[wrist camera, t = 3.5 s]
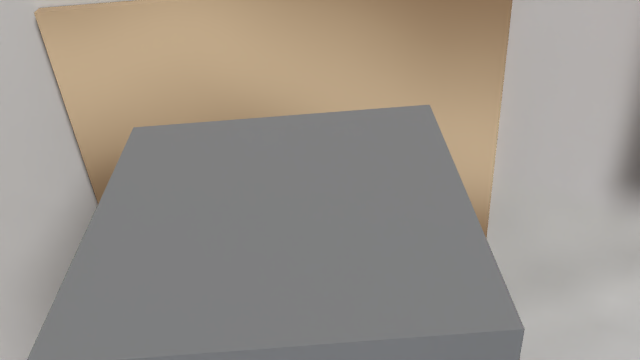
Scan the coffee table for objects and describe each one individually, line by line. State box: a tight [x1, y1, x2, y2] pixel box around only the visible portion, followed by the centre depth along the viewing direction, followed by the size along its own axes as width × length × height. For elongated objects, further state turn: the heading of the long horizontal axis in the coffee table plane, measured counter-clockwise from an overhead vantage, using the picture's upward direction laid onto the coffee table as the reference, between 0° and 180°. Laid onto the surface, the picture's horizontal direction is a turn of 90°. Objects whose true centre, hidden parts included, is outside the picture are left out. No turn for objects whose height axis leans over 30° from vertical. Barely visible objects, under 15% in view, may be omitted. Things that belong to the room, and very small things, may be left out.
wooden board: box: [34, 0, 512, 237], centre depth 16 cm, size 12×10×1 cm
